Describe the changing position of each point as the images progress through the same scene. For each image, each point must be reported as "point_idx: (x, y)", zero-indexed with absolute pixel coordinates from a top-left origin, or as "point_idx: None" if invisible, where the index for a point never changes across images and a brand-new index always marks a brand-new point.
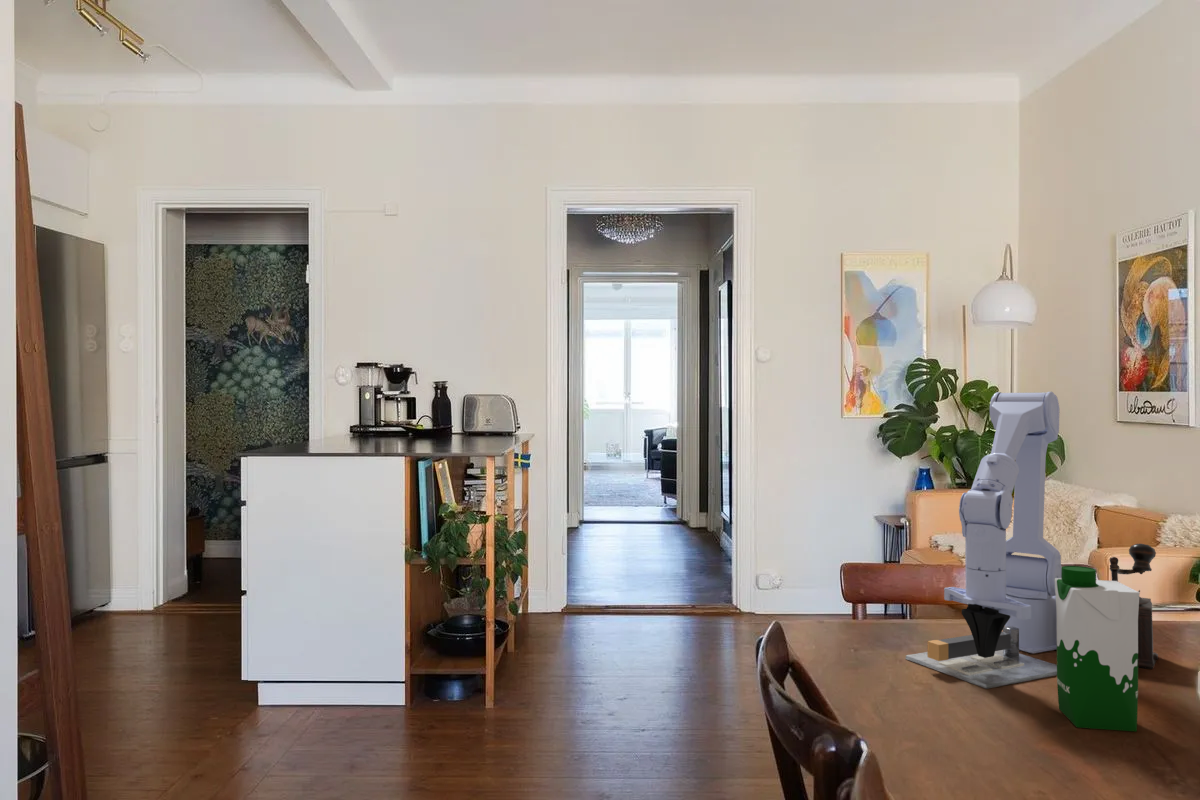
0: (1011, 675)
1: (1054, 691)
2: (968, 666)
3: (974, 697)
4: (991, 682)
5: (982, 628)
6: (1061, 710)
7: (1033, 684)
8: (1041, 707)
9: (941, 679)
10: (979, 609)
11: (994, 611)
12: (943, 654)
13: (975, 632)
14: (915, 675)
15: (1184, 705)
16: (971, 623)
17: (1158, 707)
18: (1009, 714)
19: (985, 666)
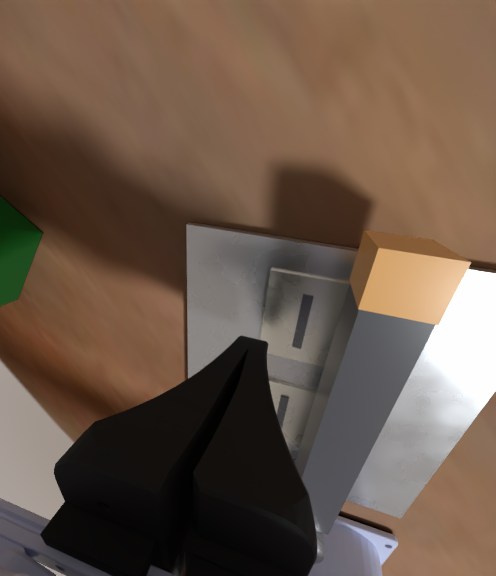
0: (209, 342)
1: (127, 329)
2: (306, 321)
3: (153, 113)
4: (192, 252)
5: (180, 400)
6: (24, 219)
7: (172, 340)
8: (57, 210)
9: (320, 180)
10: (190, 559)
11: (60, 527)
12: (360, 263)
13: (243, 394)
14: (418, 126)
15: (37, 397)
16: (245, 429)
17: (34, 369)
18: (25, 75)
19: (289, 364)
